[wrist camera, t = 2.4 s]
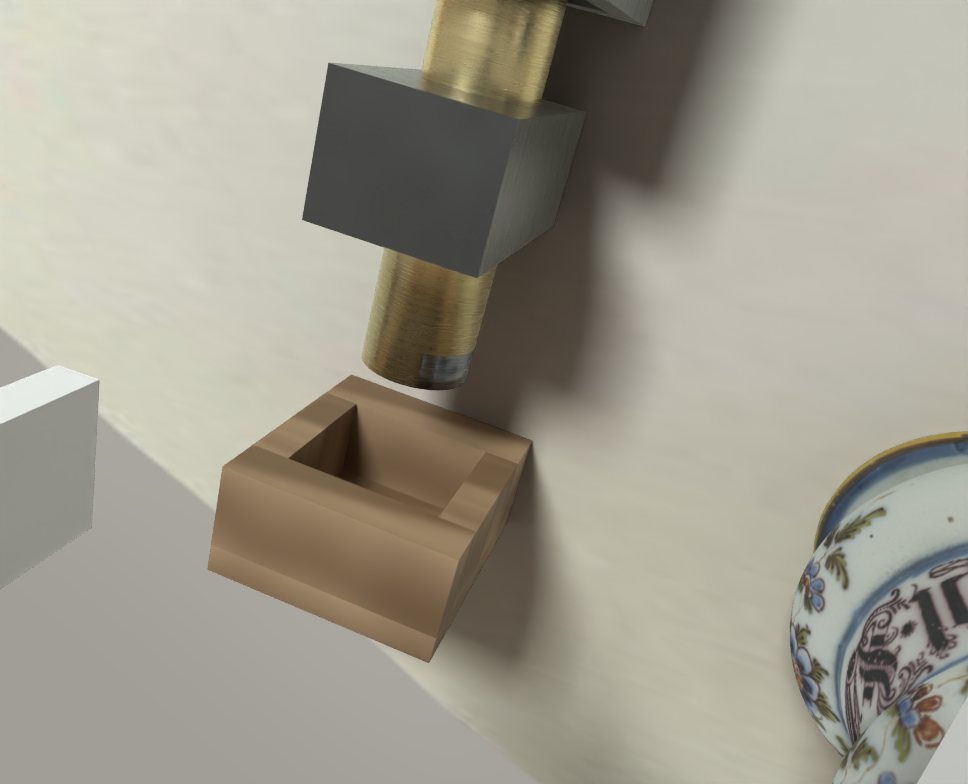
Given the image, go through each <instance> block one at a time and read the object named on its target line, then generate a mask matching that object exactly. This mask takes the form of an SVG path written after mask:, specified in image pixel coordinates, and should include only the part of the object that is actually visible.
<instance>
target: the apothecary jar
mask: <svg viewBox="0 0 968 784" xmlns="http://www.w3.org/2000/svg"><path fill="white" fill-rule="evenodd" d="M790 647H791V655H792V662H793V667H794V671H795V675H796V679H797V682H798V685H799V689H800V692H801V694H802V696H803V699H804V701H805V703H806V706H807V708H808V710H809V712H810V713H811V715H812V717H813V719H814V721H815V722H816V724H817V726H818V727H819V729H820V730H821V732H822V733H823V734H824V736H825V737H826V738H827V739H828V741H829V742H830V743H831V744H832V745H833V747H834V748H835V749H836V750H837V751H838V753H839V754H840V755H841V756H842V757H843V758H844V760H843V762H842V763H841V765H840V767H839V769H838V771H837V773H836V776H835V778H834V780H833V782H832V784H917V783H918V781H919V779H920V777H921V776H922V774H923V772H924V771H925V769H926V767H927V765H928V764H929V762H930V760H931V759H932V757H933V755H934V753H935V752H936V750H937V748H938V747H939V745H940V743H941V741H942V740H943V738H944V736H945V734H946V733H947V731H948V729H949V728H950V726H951V724H952V722H953V721H954V719H955V717H956V716H957V714H958V712H959V710H960V709H961V707H962V705H963V704H964V702H965V700H966V698H967V697H968V432H952V433H944V434H937V435H932V436H927V437H923V438H919V439H915V440H912V441H909V442H906V443H903V444H900V445H898V446H896V447H893V448H891V449H889V450H886V451H884V452H882V453H881V454H879V455H877V456H875V457H873V458H872V459H870V460H869V461H867V462H866V463H865V464H863V465H862V466H861V467H859V468H858V469H857V470H855V471H854V472H853V473H852V474H851V475H850V476H849V477H848V478H847V479H846V480H845V482H844V483H843V484H842V485H841V486H840V487H839V489H838V490H837V491H836V493H835V494H834V495H833V497H832V498H831V500H830V501H829V502H828V504H827V506H826V508H825V510H824V512H823V514H822V516H821V518H820V521H819V525H818V529H817V533H816V537H815V543H814V555H813V556H812V558H811V560H810V561H809V563H808V565H807V567H806V569H805V570H804V573H803V575H802V577H801V579H800V582H799V585H798V588H797V591H796V595H795V599H794V603H793V608H792V614H791V621H790Z"/></svg>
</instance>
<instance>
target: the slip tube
mask: <svg viewBox="0 0 968 784" xmlns="http://www.w3.org/2000/svg"><path fill="white" fill-rule="evenodd" d="M567 2H568V0H437V1H436V6H435V10H434V15H433V20H432V25H431V29H430V34H429V39H428V44H427V48H426V53H425V58H424V63H423V67H422V70H416V69H403V68H390V67H378V66H365V65H352V64H339V63H328V69H327V75H326V81H325V87H324V93H323V99H322V105H321V111H320V117H319V123H318V129H317V135H316V140H315V146H314V152H313V158H312V164H311V170H310V176H309V182H308V188H307V194H306V200H305V206H304V212H303V218H302V220H304V221H307V222H310V223H313V224H316V225H319V226H322V227H325V228H328V229H331V230H334V231H337V232H340V233H343V234H346V235H349V236H352V237H355V238H358V239H361V240H364V241H367V242H370V243H373V244H376V245H378V246H381V247H384V252H383V257H382V262H381V267H380V271H379V276H378V281H377V286H376V290H375V295H374V300H373V305H372V309H371V314H370V319H369V323H368V328H367V333H366V338H365V342H364V347H363V352H362V359H363V362H364V363H365V365H366V366H367V367H368V368H369V369H371V370H372V371H373V372H375V373H376V374H378V375H380V376H382V377H384V378H386V379H388V380H390V381H393V382H395V383H398V384H402V385H405V386H409V387H413V388H419V389H426V390H449V389H454V388H457V387H460V386H462V385H463V384H464V383H465V382H466V379H467V375H468V372H469V368H470V364H471V361H472V357H473V353H474V349H475V346H476V342H477V338H478V334H479V331H480V327H481V323H482V319H483V316H484V312H485V308H486V305H487V301H488V297H489V293H490V290H491V286H492V282H493V278H494V275H495V271H496V267H497V265H498V264H499V263H500V262H502V261H503V260H505V259H506V258H508V257H509V256H511V255H512V254H514V253H515V252H516V251H518V250H519V249H521V248H522V247H524V246H525V245H527V244H528V243H530V242H531V241H532V240H534V239H535V238H537V237H538V236H540V235H541V234H543V233H544V232H546V231H547V230H548V229H550V228H551V227H553V226H554V223H555V220H556V216H557V213H558V209H559V206H560V202H561V199H562V196H563V192H564V189H565V185H566V182H567V178H568V175H569V171H570V168H571V165H572V161H573V158H574V154H575V151H576V147H577V144H578V140H579V137H580V134H581V130H582V127H583V123H584V120H585V116H586V113H587V112H585V111H582V110H579V109H575V108H572V107H568V106H565V105H561V104H558V103H555V102H551V101H548V100H544V99H542V95H543V92H544V88H545V84H546V81H547V77H548V73H549V69H550V66H551V62H552V58H553V54H554V51H555V47H556V43H557V40H558V36H559V32H560V28H561V25H562V21H563V17H564V13H565V10H566V6H567Z"/></svg>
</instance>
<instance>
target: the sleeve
mask: <svg viewBox="0 0 968 784" xmlns="http://www.w3.org/2000/svg"><path fill="white" fill-rule="evenodd" d="M652 3H653V0H568V2H567V6H570V7H573V8H577V9H581V10H584V11H588V12H592V13H596V14H599V15H603V16H607V17H610V18H614V19H618V20H621V21H625V22H629V23H633V24H636V25H640V26H644V27H645V26H646V23H647V20H648V16H649V13H650V10H651V7H652Z"/></svg>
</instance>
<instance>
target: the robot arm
mask: <svg viewBox="0 0 968 784" xmlns="http://www.w3.org/2000/svg"><path fill="white" fill-rule="evenodd" d="M98 399H99V379H96V378H93V377H90V376H88V375H85V374H82V373H79V372H76V371H73V370H71V369H68V368H65V367H62V366H59V365H56V366H54V367H51V368H49V369H46V370H44V371H41V372H39V373H36V374H34V375H31V376H29V377H26V378H24V379H21V380H19V381H16V382H14V383H11V384H9V385H6V386H4V387H1V388H0V589H1V588H3V587H4V586H6V585H7V584H9V583H10V582H12V581H13V580H15V579H16V578H18V577H19V576H21V575H22V574H23V573H25V572H27V571H28V570H30V569H31V568H33V567H34V566H36V565H37V564H39V563H40V562H41V561H43V560H45V559H46V558H47V557H49V556H51V555H52V554H53V553H55V552H56V551H58V550H59V549H61V548H62V547H64V546H65V545H67V544H68V543H70V542H71V541H73V540H74V539H76V538H77V537H79V536H80V535H82V534H83V533H85V532H86V531H88V530H89V529H91V528H92V514H93V495H94V476H95V456H96V436H97V418H98ZM917 784H968V697H967V698H966V700H965V702H964V704H963V705H962V707H961V709H960V710H959V712H958V714H957V716H956V717H955V719H954V721H953V722H952V724H951V726H950V728H949V729H948V731H947V733H946V734H945V736H944V738H943V740H942V741H941V743H940V745H939V747H938V748H937V750H936V752H935V753H934V755H933V757H932V759H931V760H930V762H929V764H928V765H927V767H926V769H925V771H924V772H923V774H922V776H921V777H920V779H919V781H918V783H917Z"/></svg>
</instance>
